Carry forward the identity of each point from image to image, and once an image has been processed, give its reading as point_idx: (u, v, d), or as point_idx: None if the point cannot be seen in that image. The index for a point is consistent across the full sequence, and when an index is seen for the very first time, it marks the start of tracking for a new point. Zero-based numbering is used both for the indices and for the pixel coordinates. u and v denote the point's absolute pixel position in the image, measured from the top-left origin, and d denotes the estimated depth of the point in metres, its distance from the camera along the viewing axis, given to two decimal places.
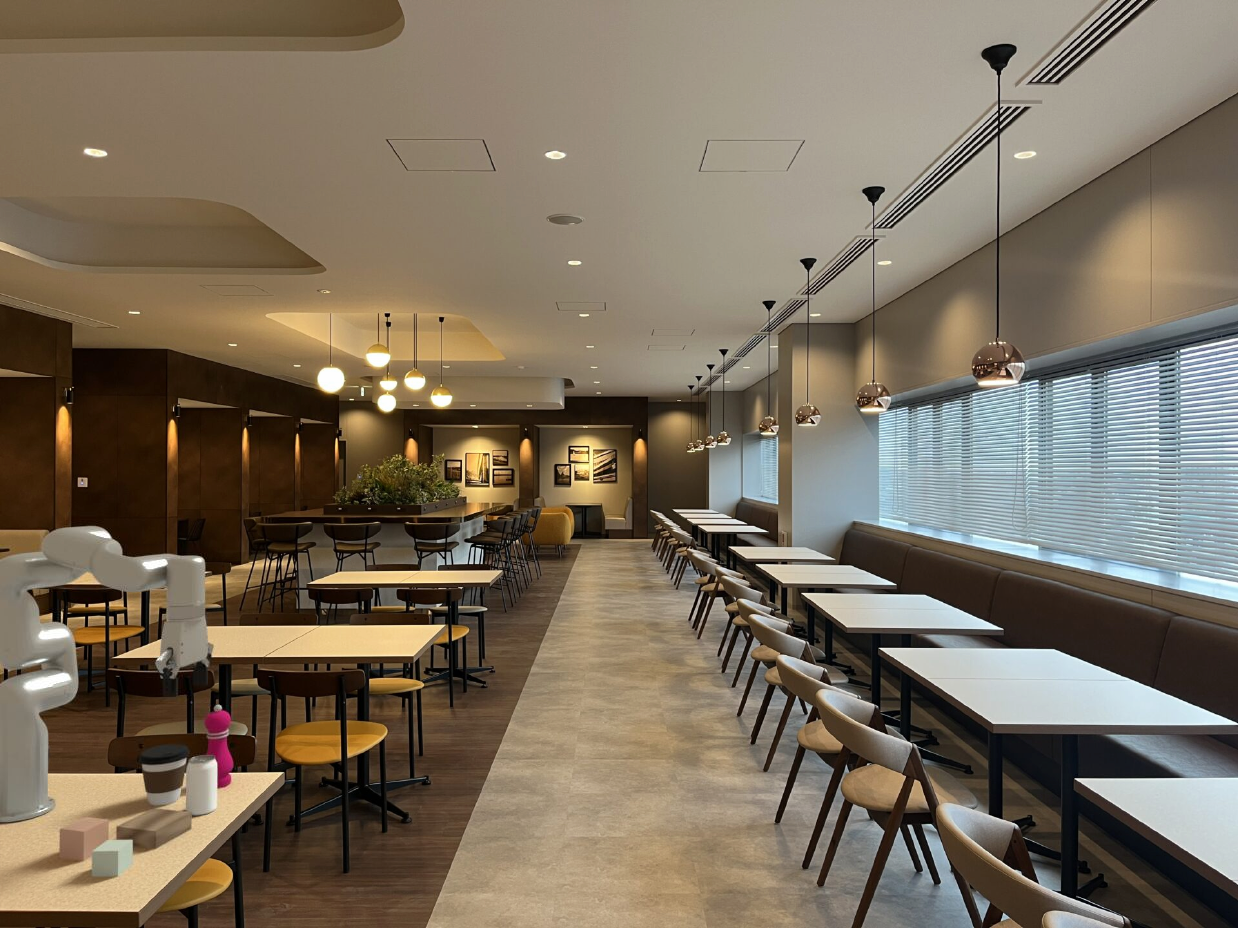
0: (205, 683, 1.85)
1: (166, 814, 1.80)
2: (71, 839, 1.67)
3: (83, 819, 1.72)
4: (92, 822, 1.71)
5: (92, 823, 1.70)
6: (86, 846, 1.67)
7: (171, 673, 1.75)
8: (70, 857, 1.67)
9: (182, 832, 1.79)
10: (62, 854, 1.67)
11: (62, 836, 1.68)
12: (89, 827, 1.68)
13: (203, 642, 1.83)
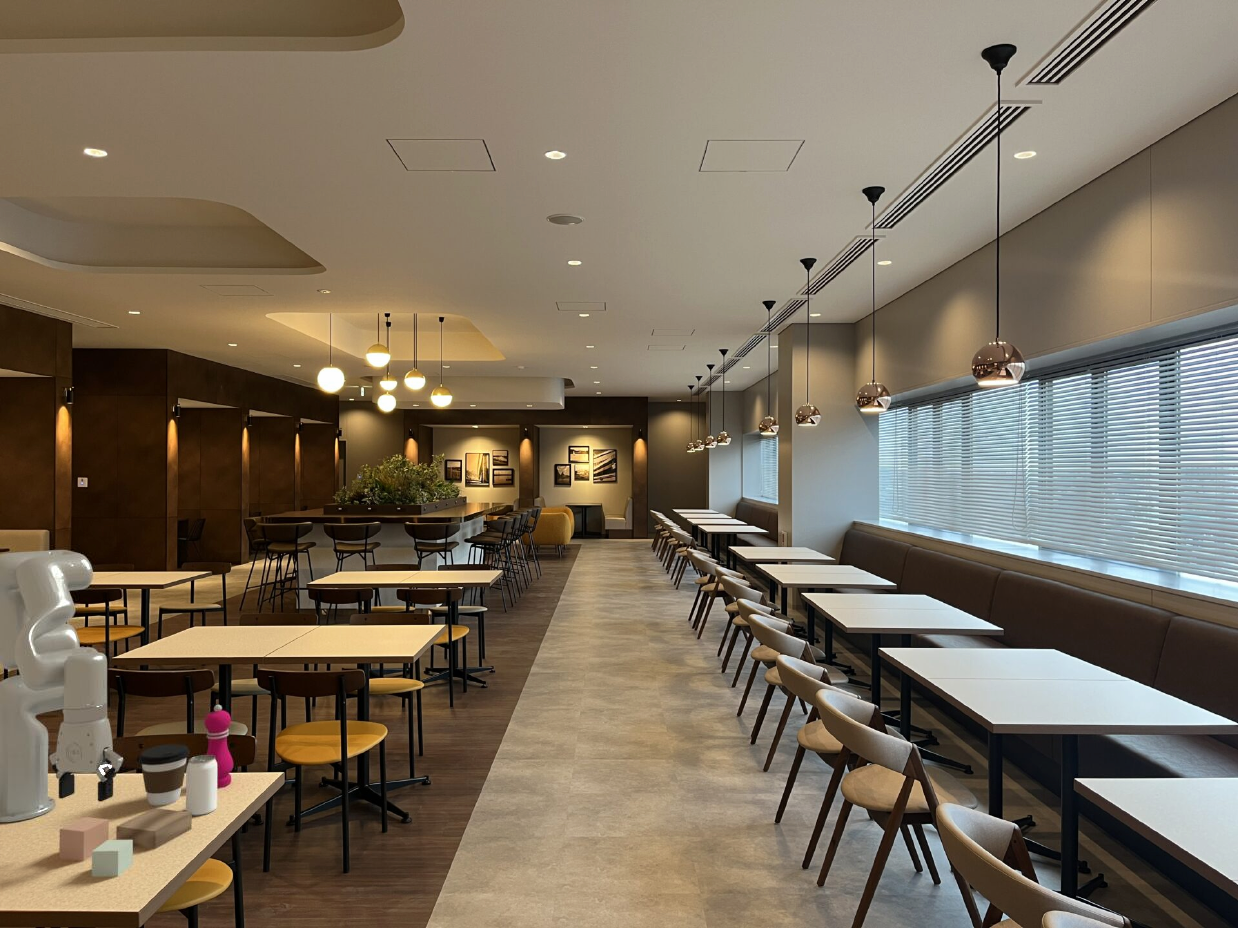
0: (73, 791, 1.72)
1: (166, 814, 1.80)
2: (71, 839, 1.67)
3: (83, 819, 1.72)
4: (92, 822, 1.71)
5: (92, 823, 1.70)
6: (86, 846, 1.67)
7: None
8: (70, 857, 1.67)
9: (182, 832, 1.79)
10: (62, 854, 1.67)
11: (62, 836, 1.68)
12: (89, 827, 1.68)
13: None
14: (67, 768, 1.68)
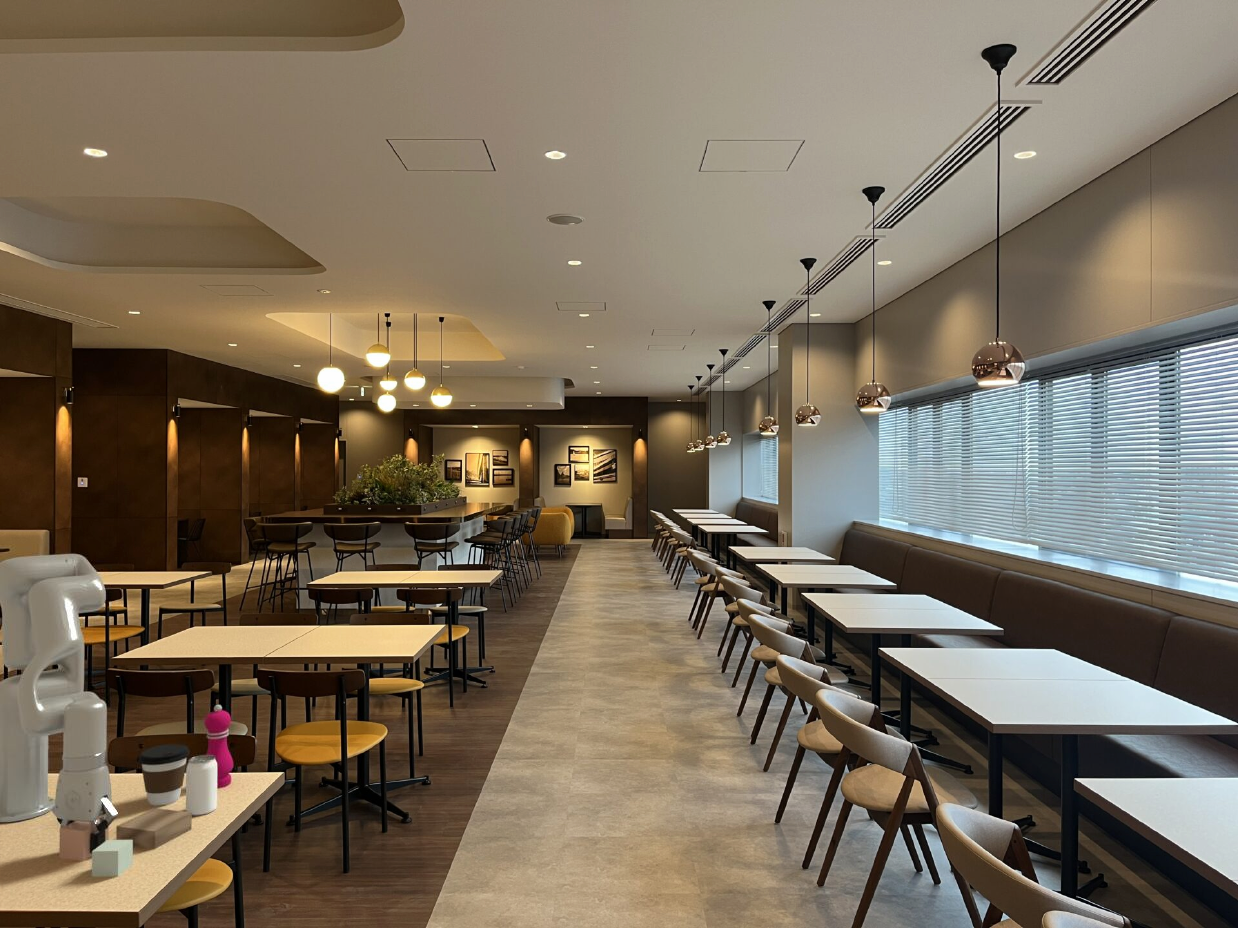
0: None
1: (167, 814, 1.80)
2: (71, 838, 1.67)
3: None
4: None
5: None
6: (86, 846, 1.67)
7: None
8: (70, 857, 1.67)
9: (182, 832, 1.79)
10: (62, 854, 1.67)
11: (62, 836, 1.68)
12: (89, 826, 1.68)
13: None
14: (66, 816, 1.68)
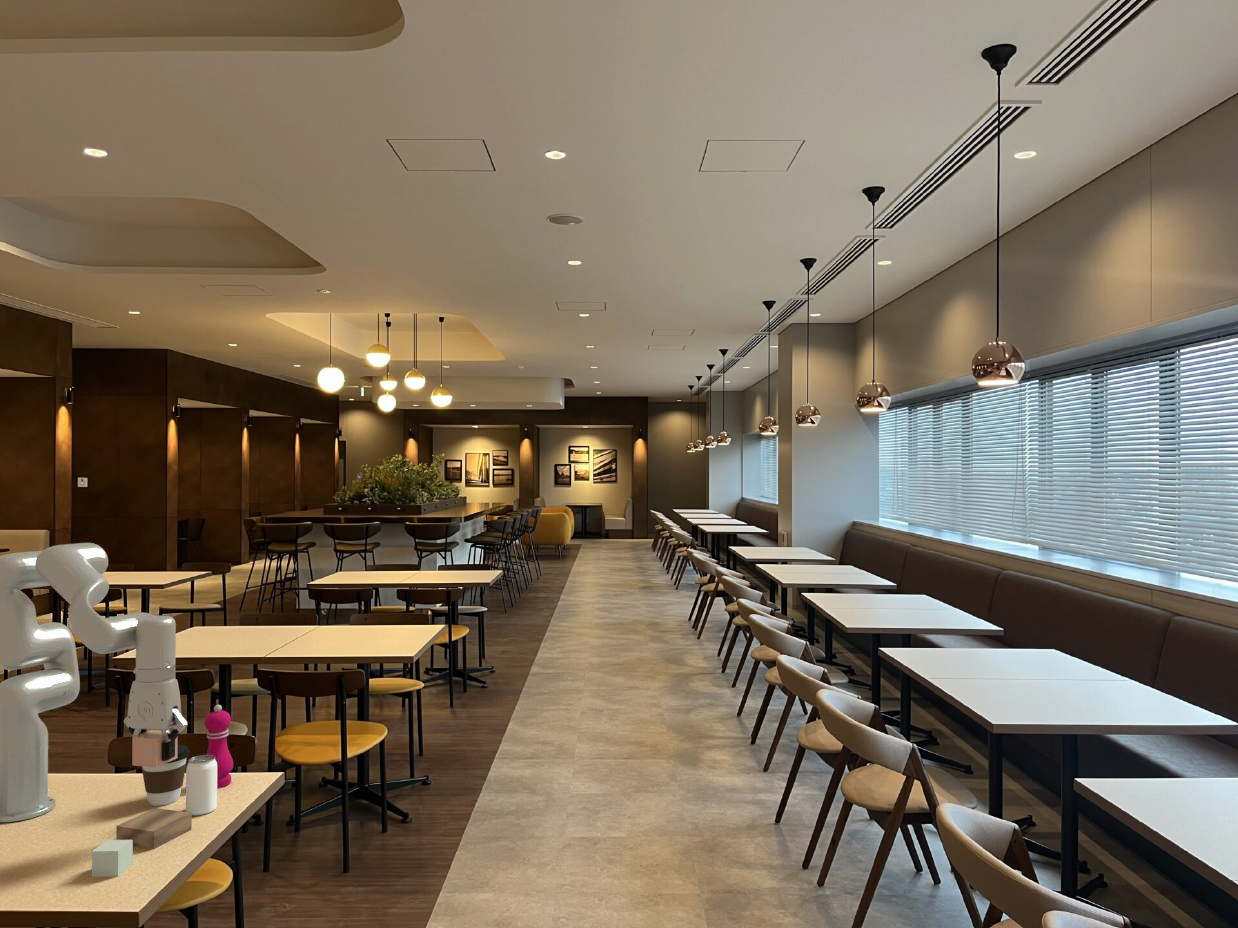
0: None
1: (167, 814, 1.80)
2: (143, 746, 1.75)
3: (153, 730, 1.80)
4: None
5: None
6: (158, 753, 1.75)
7: None
8: (143, 764, 1.75)
9: (182, 833, 1.79)
10: (135, 761, 1.76)
11: (135, 744, 1.76)
12: (161, 735, 1.76)
13: None
14: (139, 725, 1.76)
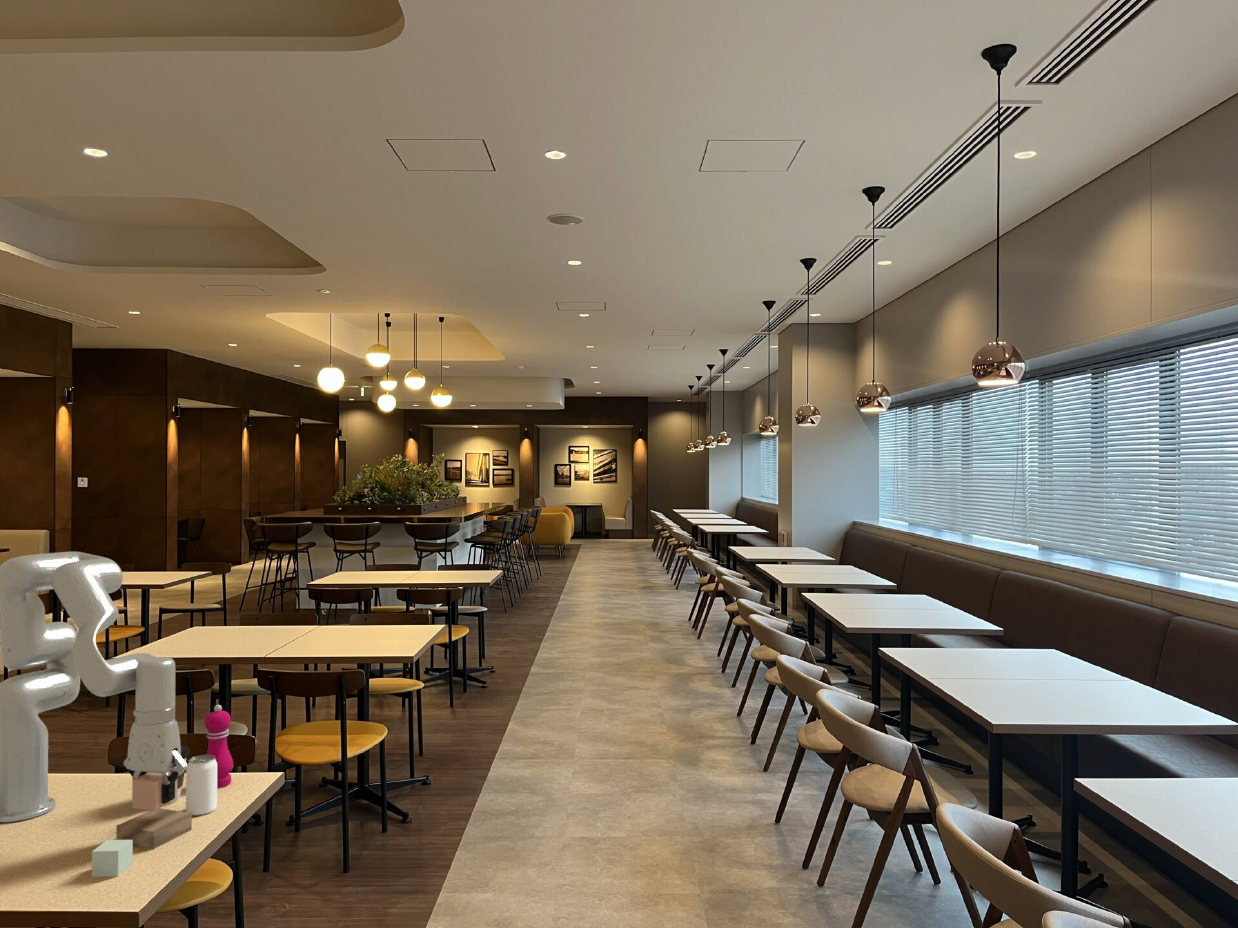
0: None
1: (167, 814, 1.80)
2: (143, 789, 1.75)
3: None
4: None
5: None
6: (158, 796, 1.75)
7: (176, 776, 1.78)
8: (143, 806, 1.75)
9: (181, 833, 1.79)
10: (135, 804, 1.75)
11: (135, 786, 1.75)
12: (161, 778, 1.76)
13: None
14: (138, 768, 1.76)
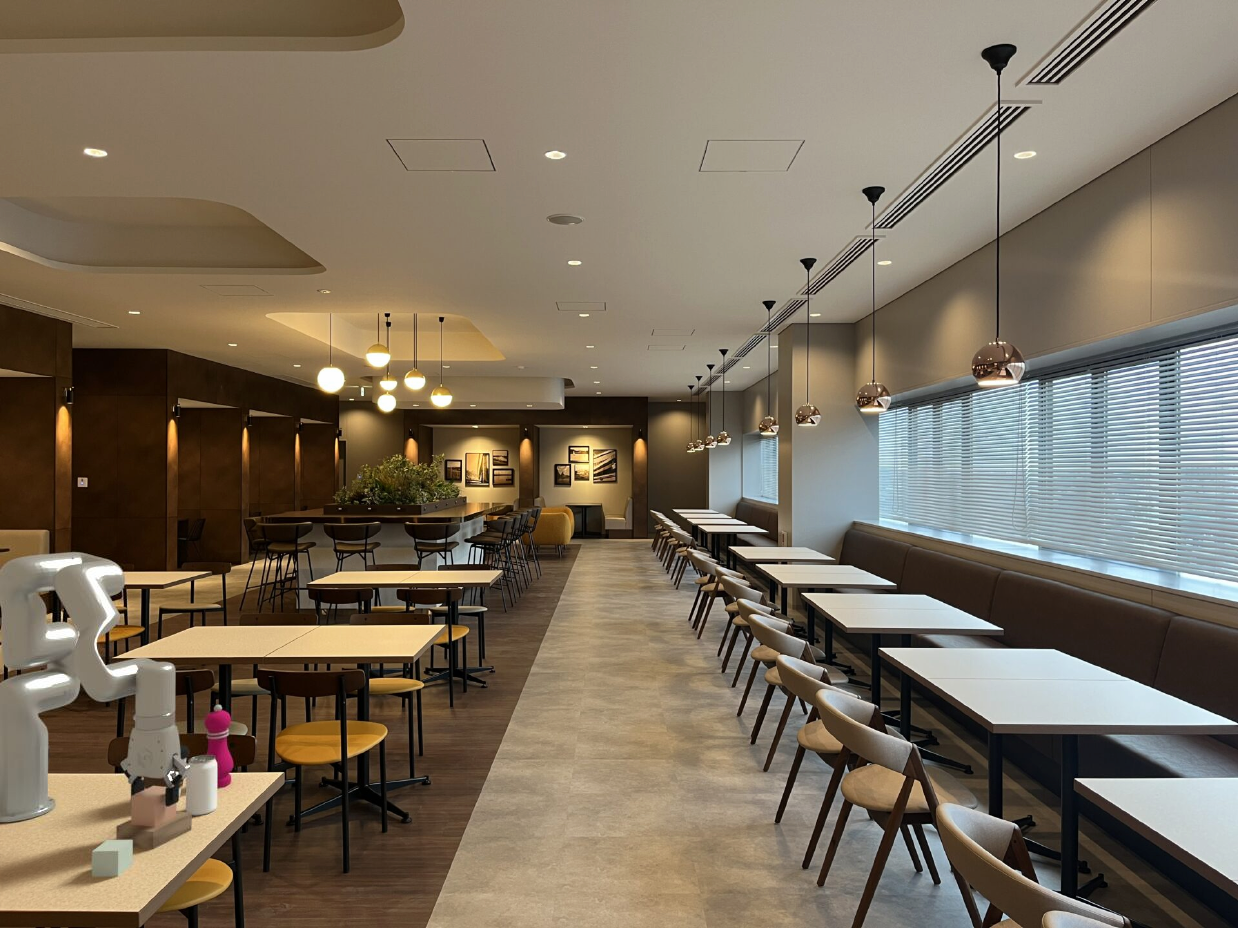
0: None
1: None
2: (142, 805, 1.75)
3: (152, 787, 1.80)
4: (161, 790, 1.79)
5: (161, 791, 1.78)
6: (157, 812, 1.75)
7: None
8: (141, 823, 1.75)
9: (181, 833, 1.78)
10: (134, 820, 1.75)
11: (134, 803, 1.75)
12: (159, 794, 1.76)
13: None
14: (138, 773, 1.76)
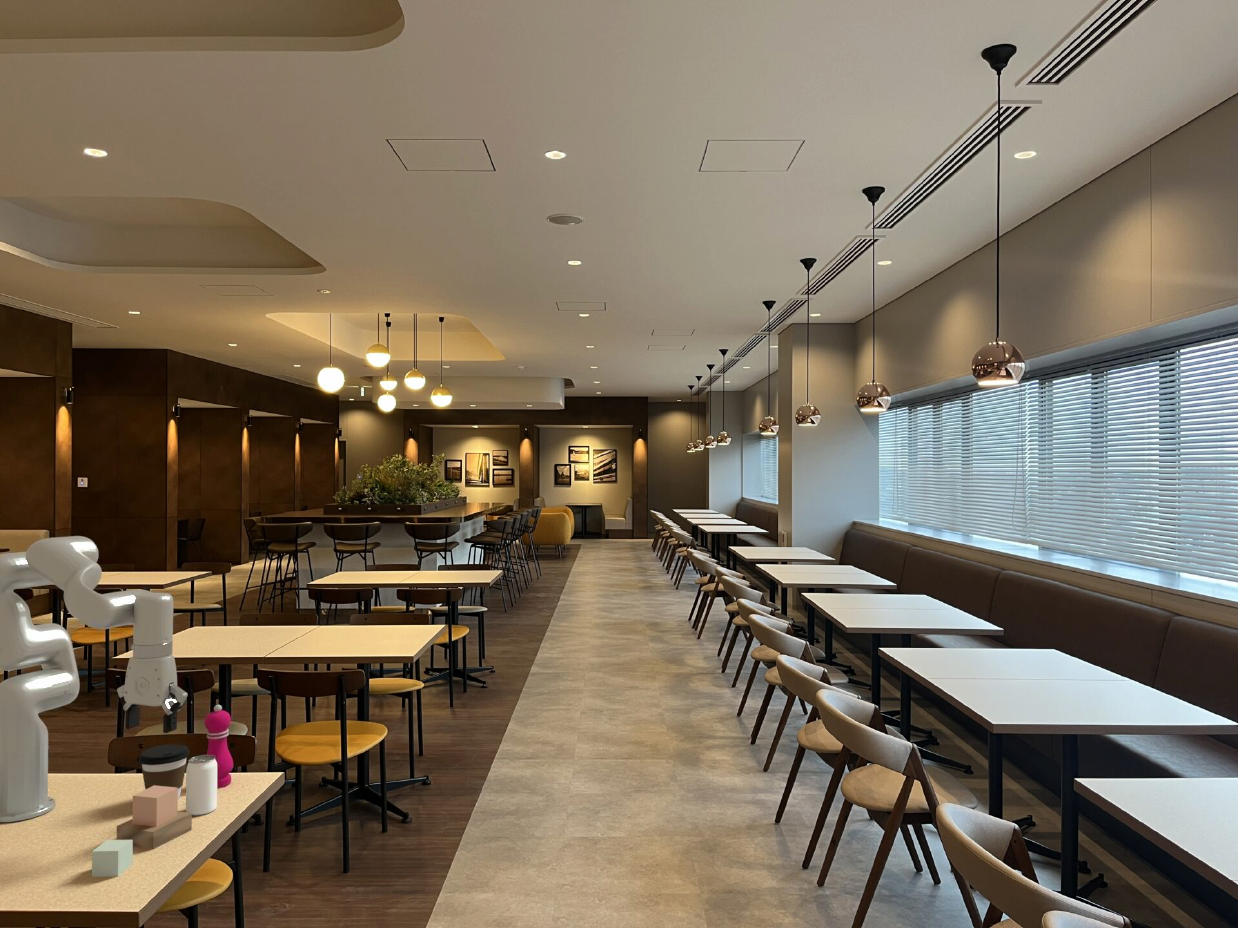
0: (139, 723, 1.82)
1: None
2: (144, 805, 1.75)
3: (153, 787, 1.80)
4: (163, 789, 1.79)
5: (162, 790, 1.78)
6: (159, 812, 1.75)
7: None
8: (143, 822, 1.75)
9: (181, 833, 1.78)
10: (135, 820, 1.75)
11: (135, 802, 1.75)
12: (161, 794, 1.76)
13: None
14: (135, 701, 1.77)
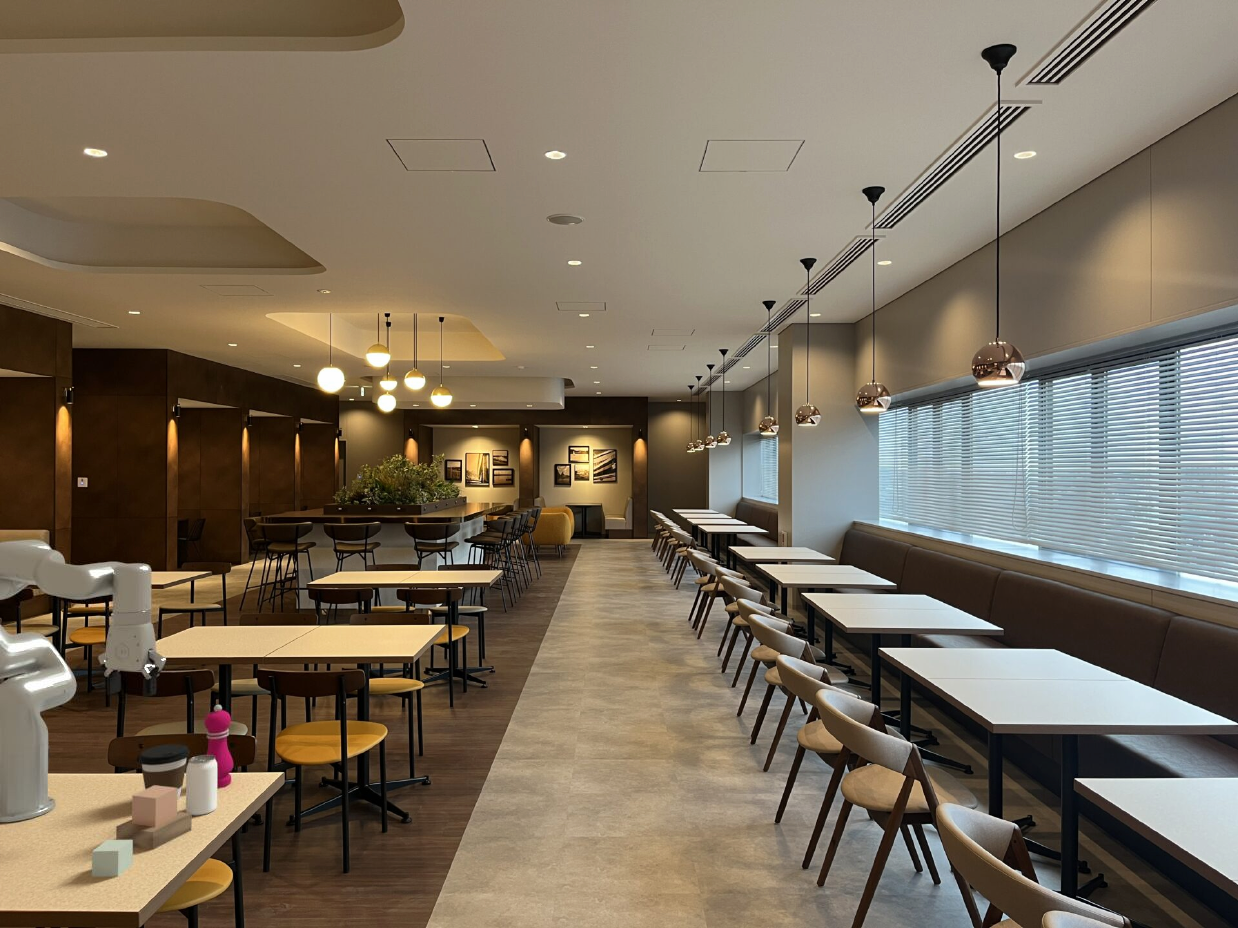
0: (120, 689, 1.89)
1: None
2: (143, 805, 1.75)
3: (153, 787, 1.80)
4: (162, 789, 1.79)
5: (162, 790, 1.78)
6: (158, 812, 1.75)
7: None
8: (142, 822, 1.75)
9: (181, 833, 1.78)
10: (134, 819, 1.75)
11: (135, 802, 1.76)
12: (160, 794, 1.76)
13: None
14: (115, 666, 1.85)
